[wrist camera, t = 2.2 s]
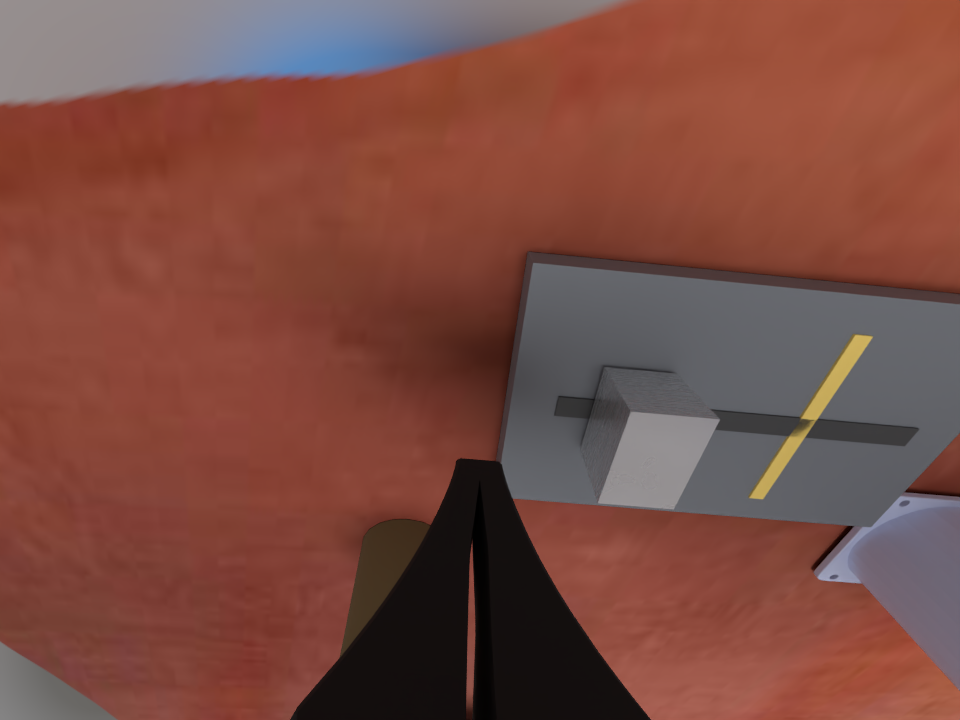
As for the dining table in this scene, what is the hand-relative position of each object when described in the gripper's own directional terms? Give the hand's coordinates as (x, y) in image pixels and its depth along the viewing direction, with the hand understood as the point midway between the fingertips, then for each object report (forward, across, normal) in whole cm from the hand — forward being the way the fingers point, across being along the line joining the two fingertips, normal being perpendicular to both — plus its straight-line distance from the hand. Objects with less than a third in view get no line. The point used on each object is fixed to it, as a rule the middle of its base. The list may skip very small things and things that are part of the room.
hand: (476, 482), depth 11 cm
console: (+7, -11, 0) cm, 13 cm away
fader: (+4, -6, 0) cm, 8 cm away
